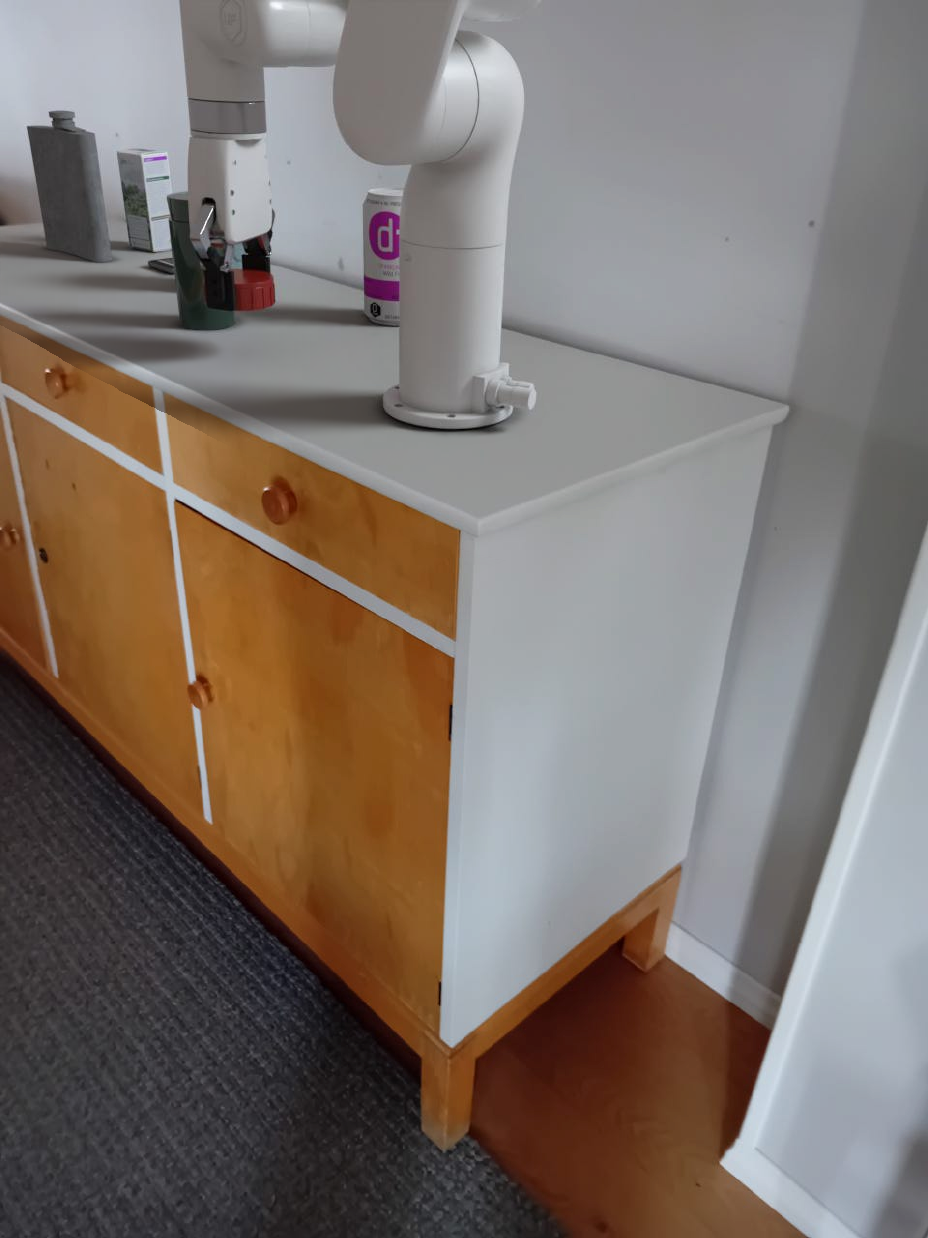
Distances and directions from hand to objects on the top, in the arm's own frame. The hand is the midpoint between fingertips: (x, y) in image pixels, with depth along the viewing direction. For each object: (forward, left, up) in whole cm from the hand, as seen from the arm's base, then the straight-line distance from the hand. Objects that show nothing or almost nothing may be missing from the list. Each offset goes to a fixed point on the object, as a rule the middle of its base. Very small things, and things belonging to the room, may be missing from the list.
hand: (240, 299), depth 108 cm
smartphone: (+35, -35, -6) cm, 50 cm away
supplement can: (-6, -23, -6) cm, 24 cm away
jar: (+12, -8, -6) cm, 15 cm away
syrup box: (+50, -41, -6) cm, 65 cm away
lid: (0, 0, +2) cm, 2 cm away
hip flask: (+55, -31, -6) cm, 64 cm away
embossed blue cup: (+24, -24, -6) cm, 34 cm away
